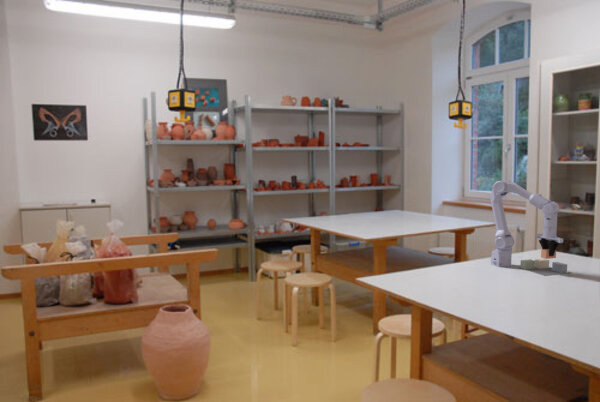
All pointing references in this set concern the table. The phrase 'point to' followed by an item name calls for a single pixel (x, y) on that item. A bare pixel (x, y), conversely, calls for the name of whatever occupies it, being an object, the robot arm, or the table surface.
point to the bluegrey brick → (559, 267)
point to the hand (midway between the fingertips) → (548, 255)
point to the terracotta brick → (547, 254)
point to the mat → (545, 271)
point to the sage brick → (527, 264)
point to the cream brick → (541, 263)
